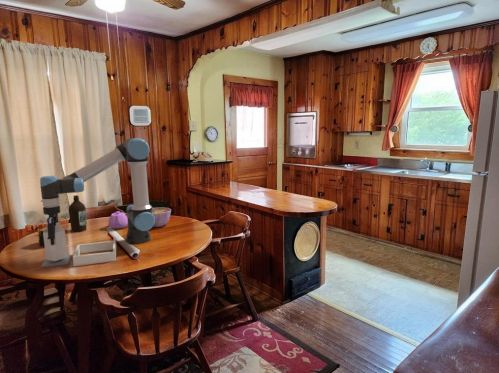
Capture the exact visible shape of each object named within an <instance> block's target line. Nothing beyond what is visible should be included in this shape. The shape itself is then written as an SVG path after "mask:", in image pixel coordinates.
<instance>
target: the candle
mask: <svg viewBox="0 0 499 373" xmlns="http://www.w3.org/2000/svg"><path fill="white" fill-rule="evenodd" d="M62 227H63V228H64V226H62ZM46 228H47V226H46V227H43V228H40V229H37V234H38V245H39V246H40V247H45V245H44V236H43V231H44V230H45V229H46ZM64 229H65V228H64Z"/></svg>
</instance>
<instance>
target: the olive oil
mask: <svg viewBox="0 0 499 373" xmlns="http://www.w3.org/2000/svg"><path fill="white" fill-rule="evenodd" d="M72 198H73V201H72V203H70V205H69V206H68V216H69V223H70V229H71V230H70V231H71V232H73V233H82V232H85V231H87V224H88V223H87V208H86V205H85V204H84V203H83V202H81V201H80V197H79V195H78V194H77V195H76V194H75V195H73V196H72Z"/></svg>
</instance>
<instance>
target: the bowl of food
mask: <svg viewBox="0 0 499 373" xmlns="http://www.w3.org/2000/svg"><path fill="white" fill-rule="evenodd" d="M171 212H172V209H171V208H169V207H159V206H158V207H152V213H153V215H154V217H155V223H154V225H153V227H152V228H160V227H161V228H162V227H164V226H165V225H167V223H168V222H169V221H170V217H171Z"/></svg>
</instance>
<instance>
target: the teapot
mask: <svg viewBox="0 0 499 373" xmlns="http://www.w3.org/2000/svg"><path fill="white" fill-rule="evenodd" d="M108 226H109V228H110V227H111V228H110V229H112V228H113V229H112V230H116V229H117V230H118V229H125V228H126V227H128V219H127V214H126V213H125V212H123V211H122V212H121V211H119V210H118V211H115V212H113V213H111V215H110V217H109V219H108Z"/></svg>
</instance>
